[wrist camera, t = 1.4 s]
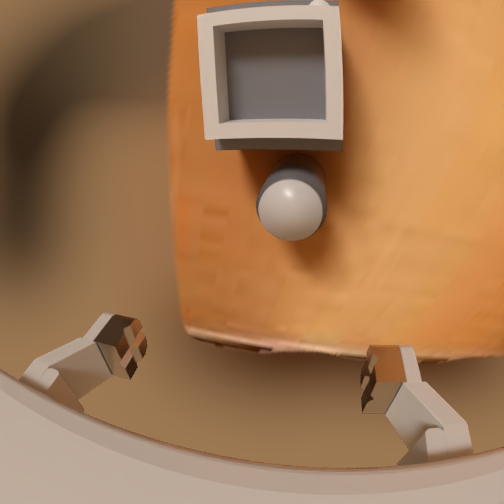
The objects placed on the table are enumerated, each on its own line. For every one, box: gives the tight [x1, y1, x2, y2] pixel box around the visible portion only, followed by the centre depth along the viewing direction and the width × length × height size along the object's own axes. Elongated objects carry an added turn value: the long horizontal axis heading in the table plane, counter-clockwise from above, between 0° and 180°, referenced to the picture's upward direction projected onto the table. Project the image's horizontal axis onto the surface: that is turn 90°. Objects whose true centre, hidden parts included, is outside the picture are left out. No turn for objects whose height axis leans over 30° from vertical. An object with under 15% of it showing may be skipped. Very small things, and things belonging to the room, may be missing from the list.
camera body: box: [197, 0, 343, 152], centre depth 19 cm, size 9×11×8 cm
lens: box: [256, 154, 327, 241], centre depth 24 cm, size 5×5×8 cm
